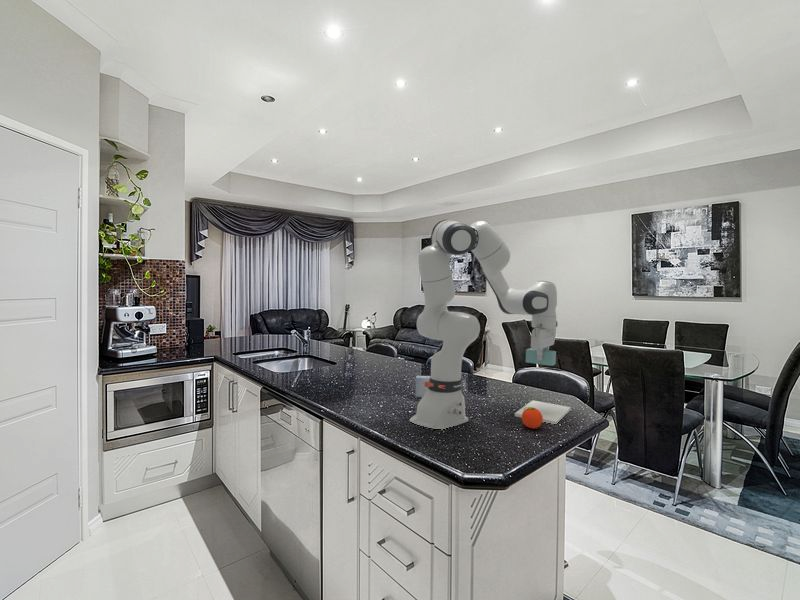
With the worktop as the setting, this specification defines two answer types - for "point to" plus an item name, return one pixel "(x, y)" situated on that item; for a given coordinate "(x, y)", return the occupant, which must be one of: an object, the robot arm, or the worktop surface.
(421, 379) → the medicine box
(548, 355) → the teal block
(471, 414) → the worktop surface
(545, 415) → the white cutting board
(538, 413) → the clementine
